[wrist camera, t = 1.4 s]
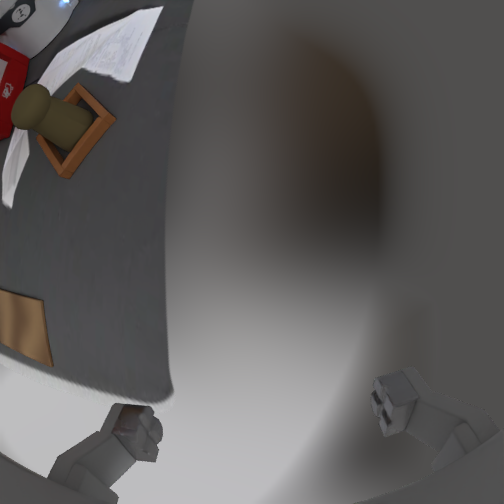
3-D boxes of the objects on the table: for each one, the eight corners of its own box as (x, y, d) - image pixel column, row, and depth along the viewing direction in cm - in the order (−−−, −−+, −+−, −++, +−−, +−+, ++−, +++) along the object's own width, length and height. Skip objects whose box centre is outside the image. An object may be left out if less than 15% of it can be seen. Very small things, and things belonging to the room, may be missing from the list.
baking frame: (44, 141, 27) (35, 137, 25) (85, 88, 27) (78, 82, 25) (69, 179, 27) (59, 176, 25) (116, 118, 27) (108, 112, 25)
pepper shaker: (54, 145, 27) (-2, 123, 16) (75, 106, 27) (24, 74, 16) (78, 158, 27) (16, 134, 16) (101, 115, 27) (47, 78, 16)
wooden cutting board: (1, 340, 30) (-2, 341, 29) (-8, 286, 29) (-10, 286, 29) (53, 366, 29) (51, 367, 28) (43, 300, 28) (40, 301, 28)
